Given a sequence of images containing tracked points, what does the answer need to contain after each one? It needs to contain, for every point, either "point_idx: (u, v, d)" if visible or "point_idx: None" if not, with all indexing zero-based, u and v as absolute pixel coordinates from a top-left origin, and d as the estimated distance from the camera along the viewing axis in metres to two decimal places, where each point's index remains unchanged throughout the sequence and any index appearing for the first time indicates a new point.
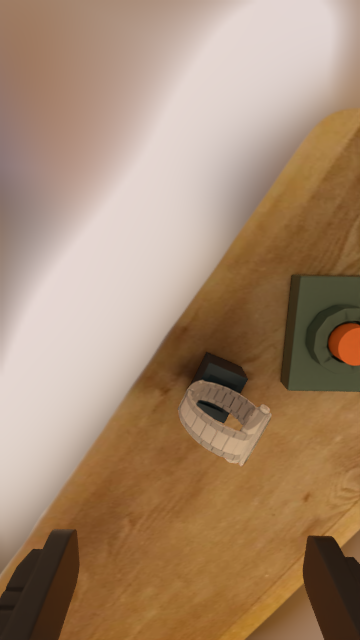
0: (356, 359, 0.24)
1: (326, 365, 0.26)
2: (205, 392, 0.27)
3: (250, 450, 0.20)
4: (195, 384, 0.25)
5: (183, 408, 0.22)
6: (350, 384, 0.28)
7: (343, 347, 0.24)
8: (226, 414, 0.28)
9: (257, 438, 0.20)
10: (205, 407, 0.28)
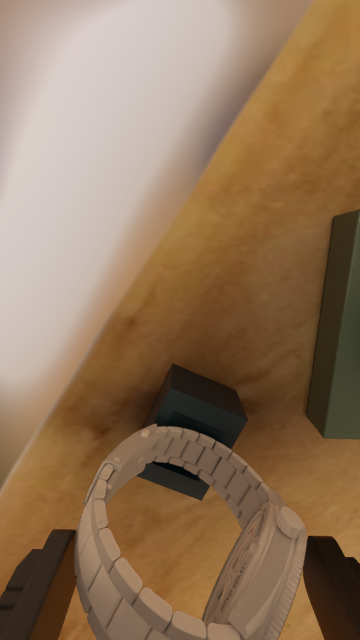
0: None
1: None
2: (162, 447, 0.13)
3: None
4: (131, 441, 0.11)
5: (84, 517, 0.09)
6: None
7: None
8: (206, 485, 0.15)
9: (274, 639, 0.07)
10: (165, 472, 0.15)
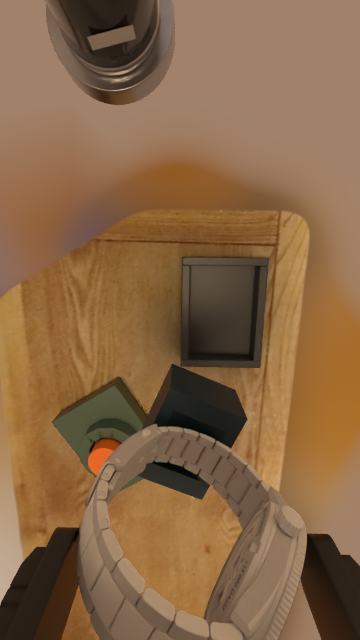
0: None
1: None
2: (162, 447, 0.13)
3: None
4: (132, 442, 0.11)
5: (86, 518, 0.09)
6: None
7: (94, 469, 0.29)
8: (206, 484, 0.15)
9: (276, 637, 0.07)
10: (165, 471, 0.15)
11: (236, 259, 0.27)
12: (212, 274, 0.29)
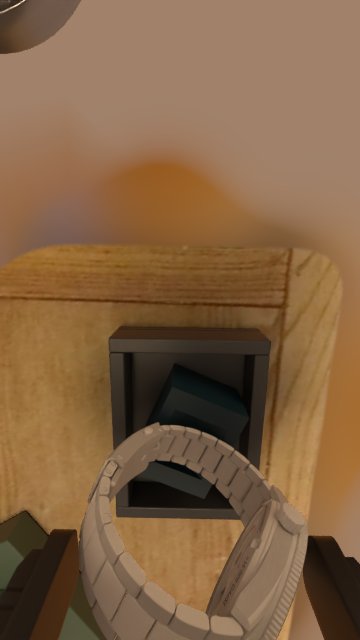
0: None
1: None
2: (164, 445, 0.14)
3: None
4: (134, 439, 0.11)
5: (88, 513, 0.09)
6: None
7: None
8: (208, 483, 0.15)
9: (276, 632, 0.07)
10: (168, 470, 0.15)
11: (210, 343, 0.14)
12: (171, 357, 0.17)
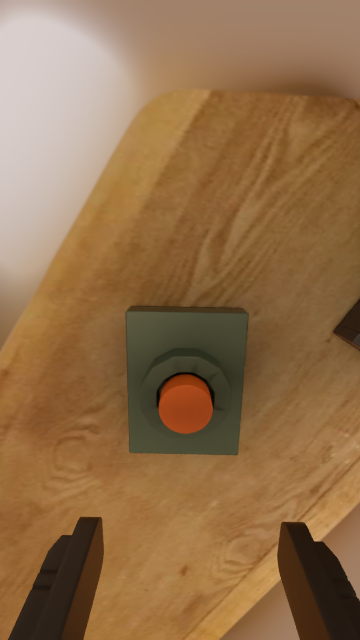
0: (185, 425, 0.18)
1: (159, 428, 0.20)
2: None
3: None
4: None
5: None
6: (207, 446, 0.22)
7: (165, 410, 0.18)
8: None
9: None
10: None
11: None
12: None
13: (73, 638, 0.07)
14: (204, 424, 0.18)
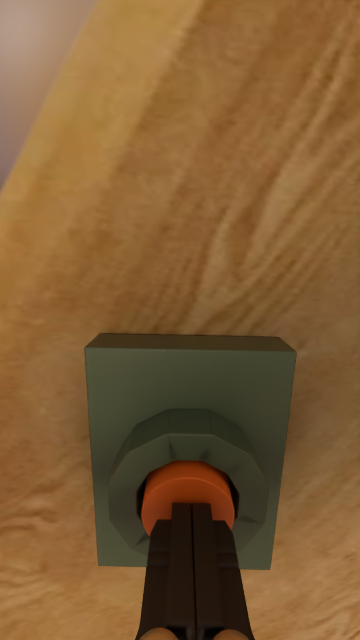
0: None
1: (143, 549, 0.11)
2: None
3: None
4: None
5: None
6: None
7: (153, 518, 0.10)
8: None
9: None
10: None
11: None
12: None
13: None
14: None
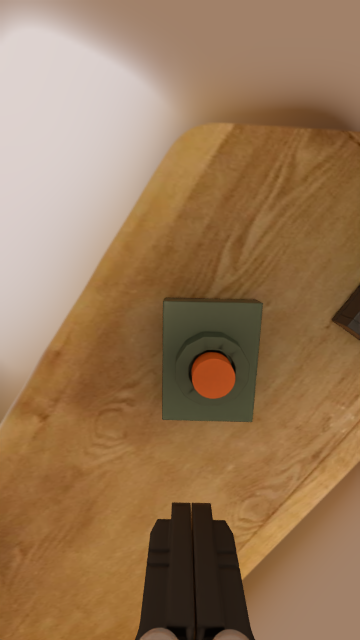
0: (213, 392, 0.23)
1: (190, 396, 0.24)
2: None
3: None
4: None
5: None
6: (227, 414, 0.27)
7: (197, 379, 0.22)
8: None
9: None
10: None
11: None
12: None
13: None
14: (228, 391, 0.23)
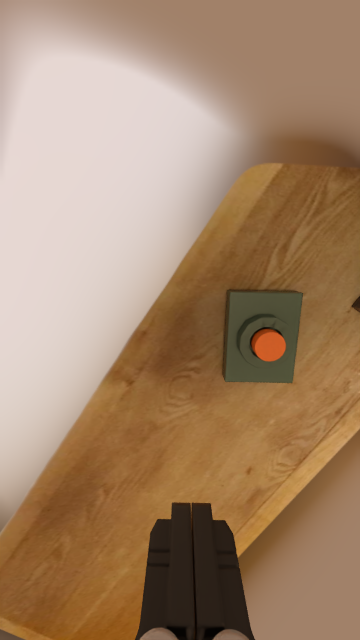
0: (269, 356, 0.32)
1: (250, 361, 0.33)
2: None
3: None
4: None
5: None
6: (274, 376, 0.36)
7: (258, 347, 0.31)
8: None
9: None
10: None
11: None
12: None
13: None
14: (280, 355, 0.32)
